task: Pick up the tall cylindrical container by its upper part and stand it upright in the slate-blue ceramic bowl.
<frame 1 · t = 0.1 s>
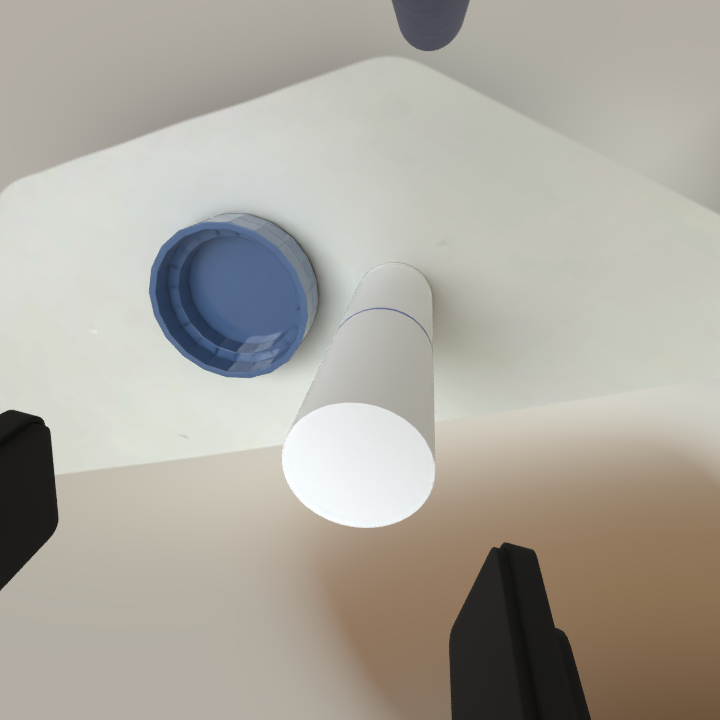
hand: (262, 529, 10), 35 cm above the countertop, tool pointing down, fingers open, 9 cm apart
bowl: (247, 288, 46), on the countertop
cylindrical container: (393, 299, 44), on the countertop
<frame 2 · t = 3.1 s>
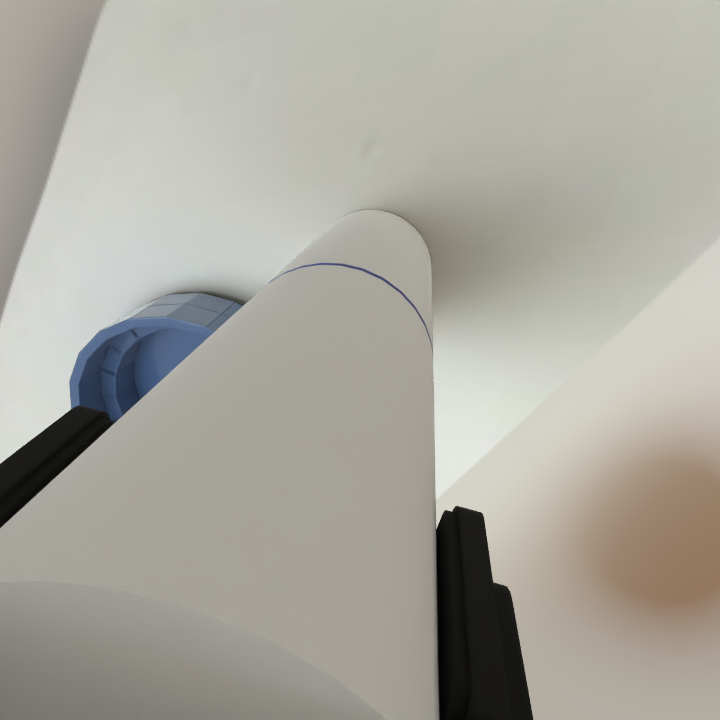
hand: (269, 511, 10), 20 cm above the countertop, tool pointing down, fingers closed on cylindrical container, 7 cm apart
bowl: (213, 387, 33), on the countertop
cylindrical container: (371, 270, 29), on the countertop, touching gripper
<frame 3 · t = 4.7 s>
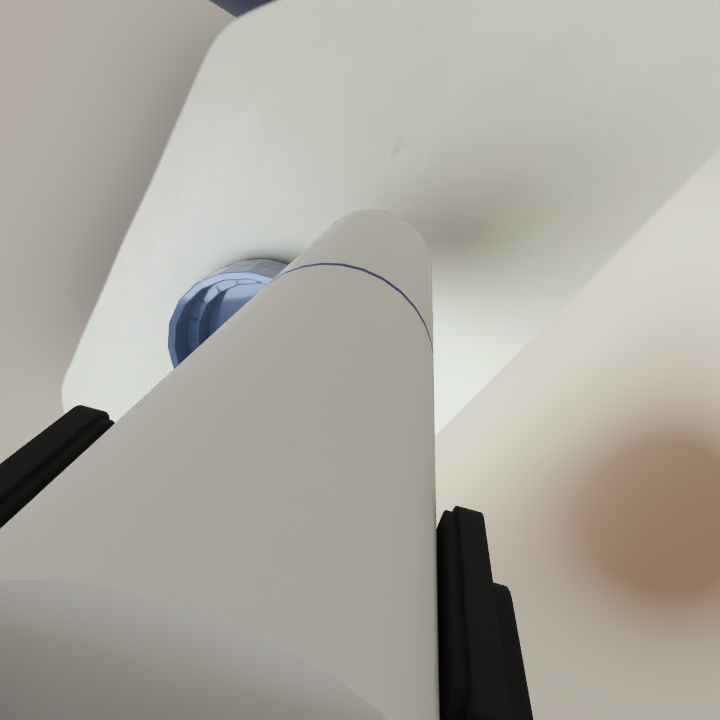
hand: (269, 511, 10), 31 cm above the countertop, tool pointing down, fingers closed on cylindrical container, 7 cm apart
bowl: (270, 335, 43), on the countertop
cylindrical container: (372, 270, 29), point 10 cm above the countertop, touching gripper
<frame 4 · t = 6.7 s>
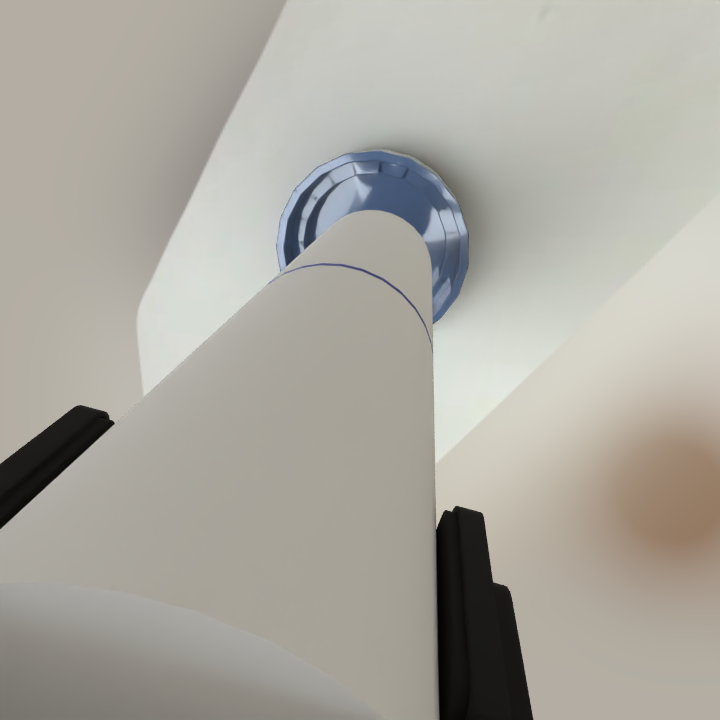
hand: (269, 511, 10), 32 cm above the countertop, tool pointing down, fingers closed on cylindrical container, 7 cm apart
bowl: (377, 242, 39), on the countertop
cylindrical container: (371, 270, 29), point 12 cm above the countertop, touching gripper
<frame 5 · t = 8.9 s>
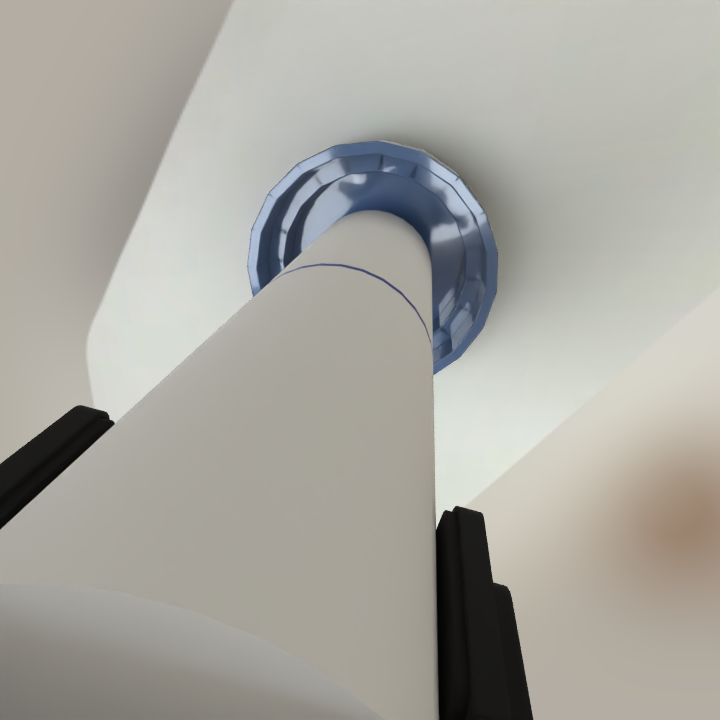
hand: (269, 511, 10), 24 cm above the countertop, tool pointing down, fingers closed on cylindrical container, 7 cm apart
bowl: (377, 258, 31), on the countertop
cylindrical container: (371, 270, 29), point 3 cm above the countertop, touching gripper
when the fingers open (21 cm above the countertop, at t = 10.4 s): cylindrical container stays where it is, resting on bowl.
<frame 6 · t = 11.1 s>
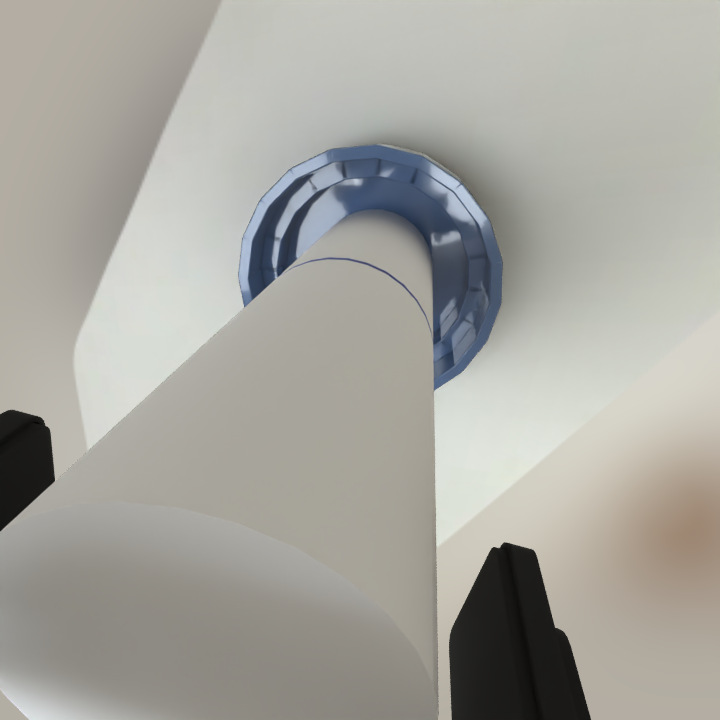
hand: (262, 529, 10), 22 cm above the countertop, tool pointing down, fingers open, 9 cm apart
bowl: (375, 267, 30), on the countertop
cylindrical container: (374, 267, 30), resting on bowl
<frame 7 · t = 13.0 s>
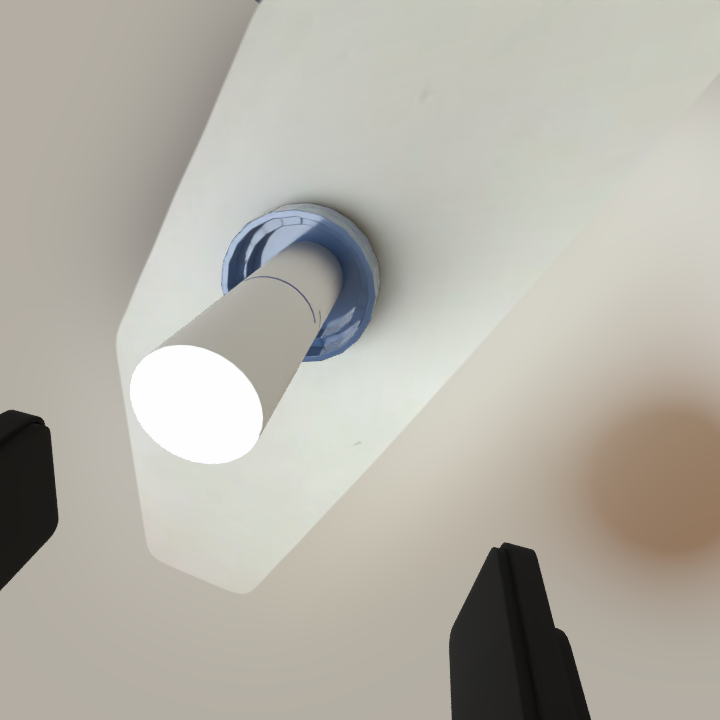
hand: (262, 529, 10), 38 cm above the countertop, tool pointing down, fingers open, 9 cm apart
bowl: (309, 276, 47), on the countertop
cylindrical container: (308, 277, 47), resting on bowl
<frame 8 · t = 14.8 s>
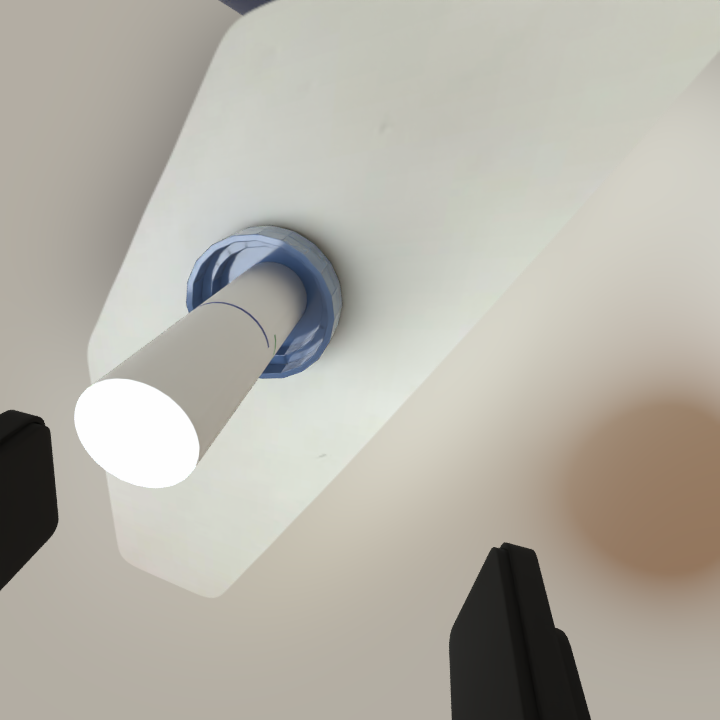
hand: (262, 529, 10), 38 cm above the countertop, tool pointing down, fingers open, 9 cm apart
bowl: (274, 295, 49), on the countertop
cylindrical container: (273, 295, 48), resting on bowl
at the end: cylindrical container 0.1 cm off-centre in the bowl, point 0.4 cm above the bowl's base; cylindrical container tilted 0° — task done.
